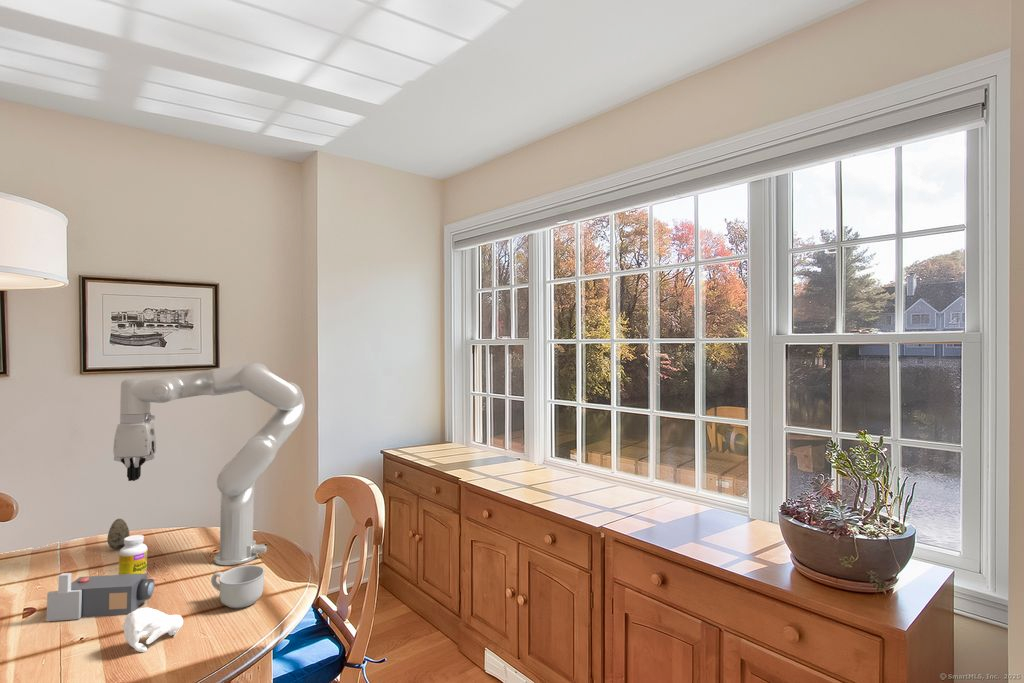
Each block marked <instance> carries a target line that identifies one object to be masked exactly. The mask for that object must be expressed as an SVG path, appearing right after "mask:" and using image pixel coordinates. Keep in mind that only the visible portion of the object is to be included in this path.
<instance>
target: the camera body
mask: <svg viewBox="0 0 1024 683" xmlns="http://www.w3.org/2000/svg"><path fill="white" fill-rule="evenodd" d="M71 590H82V605H81V618H91V617H105V616H108V617H109V616H121V615H122V616H123V615H128V614H129V613H131V612H133V611H135V610H137V609H139V608H140V606H141V605H143V604H144V603H145V602H146V601H148V600H150V599H151V597H152V596H153V593H154V590H155V581H154V579H153V578H148V573H143V574H124V575H119V574H111V575H110V574H107V575H92V576H90V575H87V576H79V577H77V578H76V579H75V580H73V581H71Z"/></svg>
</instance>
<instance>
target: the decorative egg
mask: <svg viewBox="0 0 1024 683" xmlns="http://www.w3.org/2000/svg"><path fill="white" fill-rule="evenodd" d="M129 536H131V535H130V530H129V527H128V525H127V522H126V521H125V520H124V519H123V518H117V519H115V520H114V521H113V522H112V523H111V526H110V527H109V531H108V534H107V538H106V539H107V540H106V541H107V544H108V545H107V546H109V548H110V549H113V550H121V549H122V548H123V547H125V544H124V539H125V538H126V537H129Z"/></svg>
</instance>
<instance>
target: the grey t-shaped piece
mask: <svg viewBox="0 0 1024 683" xmlns="http://www.w3.org/2000/svg"><path fill="white" fill-rule="evenodd" d="M71 583H72V572H65V573H63V572H62V573H60V574H59V575H58V590H51V591H48V592H47V593H46V594H47V595H46V598H47V599H46V622H54V621H55V622H56V621H69V620H70V621H71V620H80V619H81V618H82V617H81V605H82V590H71Z"/></svg>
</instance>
